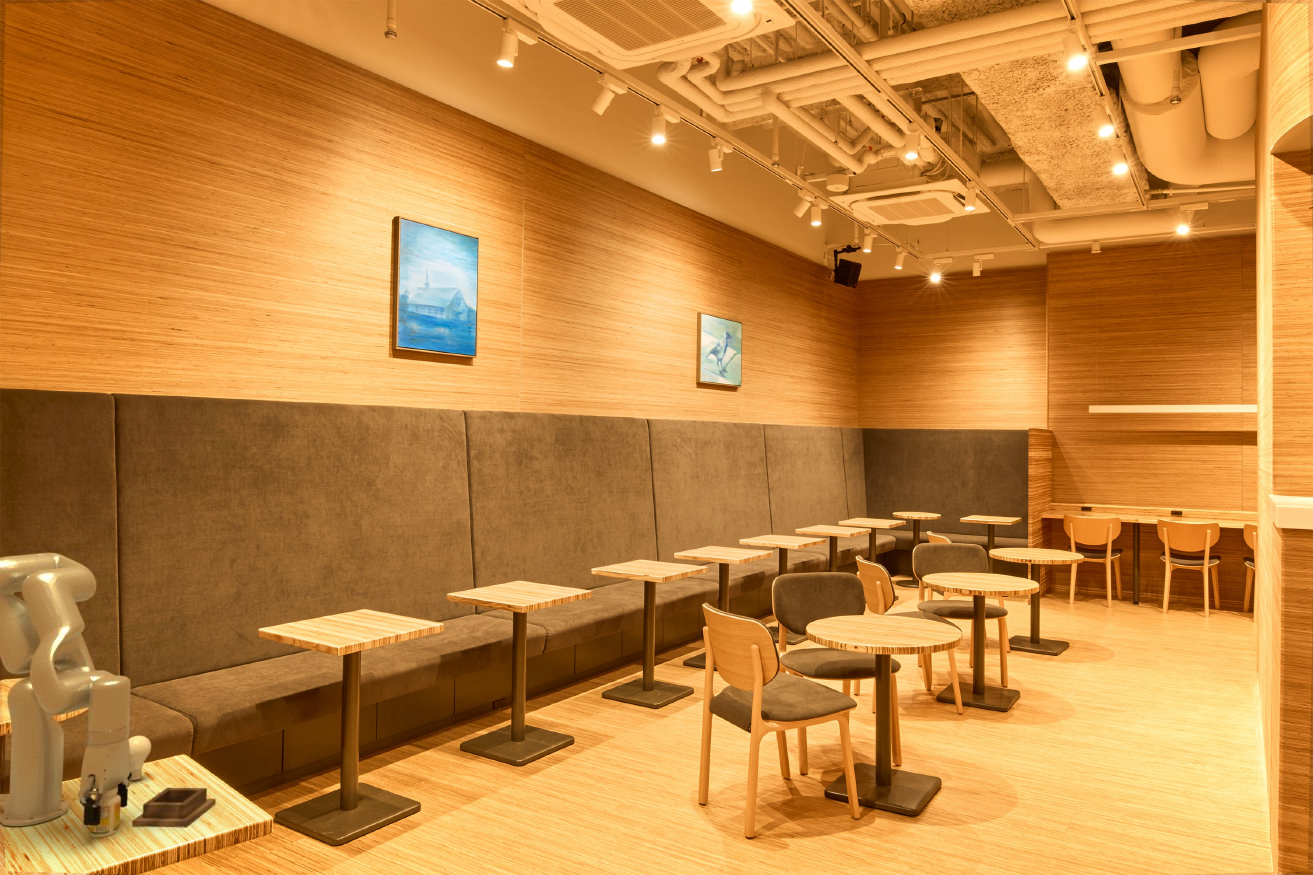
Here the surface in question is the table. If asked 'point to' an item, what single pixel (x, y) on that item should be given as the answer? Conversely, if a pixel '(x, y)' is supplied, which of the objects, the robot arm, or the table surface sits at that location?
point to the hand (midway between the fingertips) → (105, 815)
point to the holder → (174, 808)
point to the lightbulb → (138, 754)
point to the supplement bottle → (108, 814)
